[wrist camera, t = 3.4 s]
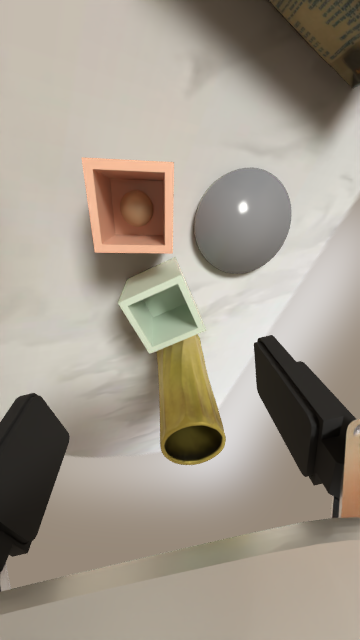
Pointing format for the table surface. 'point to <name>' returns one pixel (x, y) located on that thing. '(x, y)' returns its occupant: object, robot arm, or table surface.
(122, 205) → the cork ball
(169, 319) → the cup green
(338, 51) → the beverage carton
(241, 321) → the table surface
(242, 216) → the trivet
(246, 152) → the table surface
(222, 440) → the vase
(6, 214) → the table surface
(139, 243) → the cup terracotta
